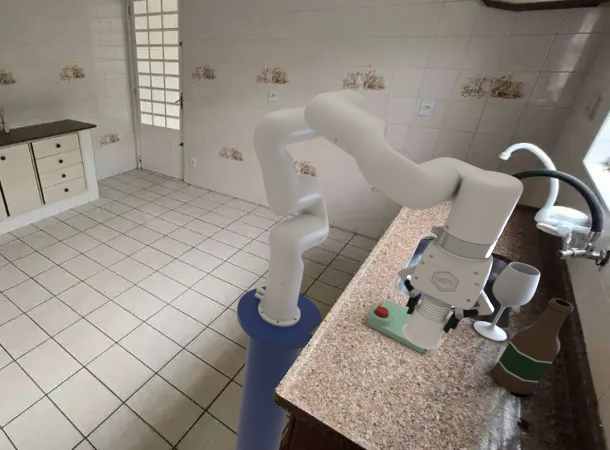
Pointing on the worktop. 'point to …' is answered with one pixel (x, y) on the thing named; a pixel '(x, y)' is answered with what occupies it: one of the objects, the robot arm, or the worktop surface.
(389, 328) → the scale
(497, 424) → the worktop surface
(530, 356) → the beer bottle
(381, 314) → the button
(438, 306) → the downlight
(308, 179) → the robot arm
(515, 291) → the wineglass
